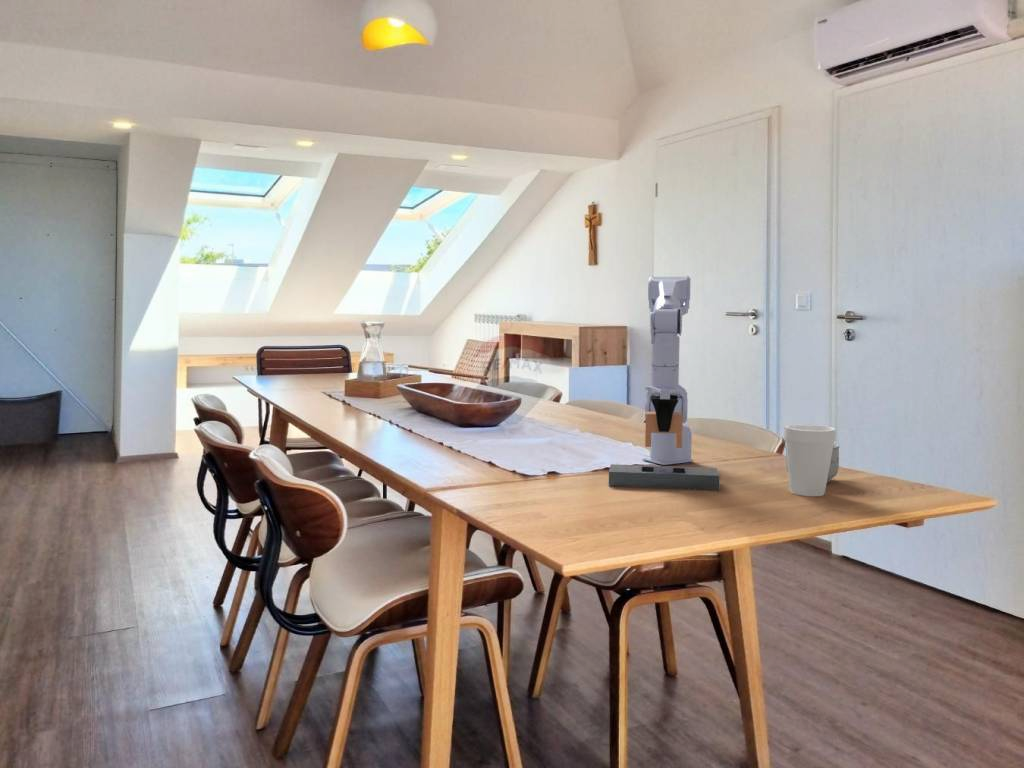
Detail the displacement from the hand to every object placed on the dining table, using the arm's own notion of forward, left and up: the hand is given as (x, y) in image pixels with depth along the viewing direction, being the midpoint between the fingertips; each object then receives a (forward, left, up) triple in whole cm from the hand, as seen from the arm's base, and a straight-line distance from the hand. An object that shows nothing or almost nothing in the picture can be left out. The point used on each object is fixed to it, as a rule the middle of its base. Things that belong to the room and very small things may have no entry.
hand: (663, 430), depth 174 cm
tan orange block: (0, 0, -3) cm, 3 cm away
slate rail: (+3, +4, -11) cm, 12 cm away
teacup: (-28, +17, -11) cm, 34 cm away
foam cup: (-17, +24, -11) cm, 31 cm away
